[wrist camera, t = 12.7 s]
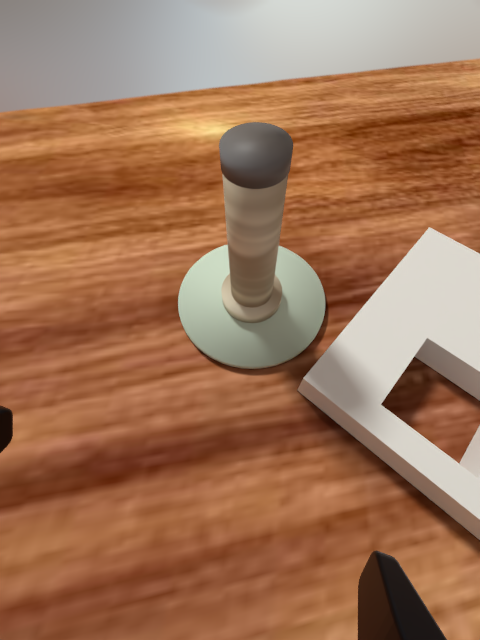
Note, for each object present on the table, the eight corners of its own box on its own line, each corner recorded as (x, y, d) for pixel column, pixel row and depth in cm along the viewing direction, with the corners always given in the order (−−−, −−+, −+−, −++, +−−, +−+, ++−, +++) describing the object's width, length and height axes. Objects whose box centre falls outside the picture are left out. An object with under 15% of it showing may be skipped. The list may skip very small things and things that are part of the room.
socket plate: (513, 567, 17) (554, 579, 14) (297, 390, 21) (303, 378, 19) (600, 353, 22) (640, 338, 20) (414, 249, 27) (429, 227, 24)
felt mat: (208, 394, 21) (207, 391, 21) (161, 270, 26) (160, 266, 26) (352, 334, 23) (354, 331, 23) (283, 229, 28) (284, 225, 27)
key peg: (271, 330, 23) (294, 188, 12) (213, 313, 23) (187, 166, 13) (287, 281, 25) (318, 123, 14) (233, 267, 25) (224, 107, 15)
